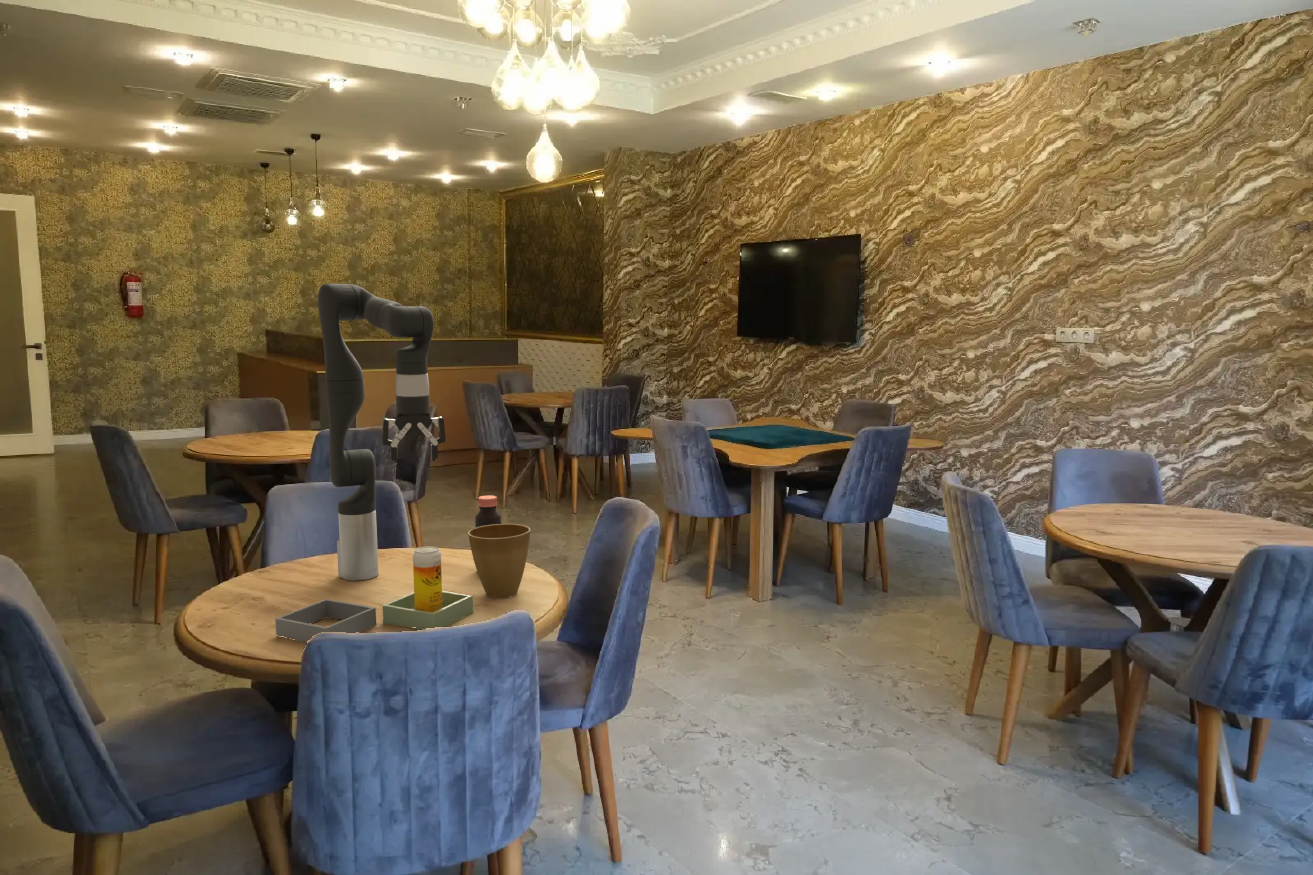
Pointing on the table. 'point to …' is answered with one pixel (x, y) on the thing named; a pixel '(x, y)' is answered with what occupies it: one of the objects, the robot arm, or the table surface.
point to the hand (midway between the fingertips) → (414, 461)
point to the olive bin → (407, 616)
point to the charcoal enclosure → (350, 614)
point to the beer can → (427, 579)
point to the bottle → (487, 511)
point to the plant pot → (500, 557)
